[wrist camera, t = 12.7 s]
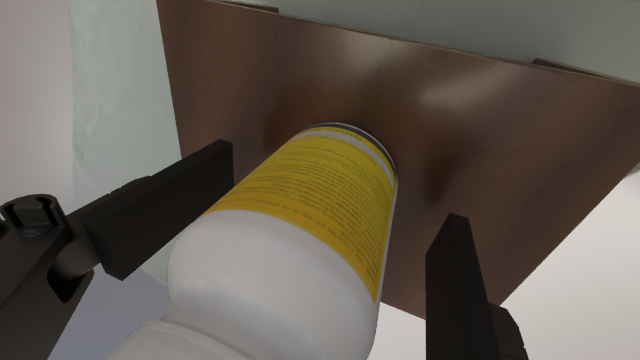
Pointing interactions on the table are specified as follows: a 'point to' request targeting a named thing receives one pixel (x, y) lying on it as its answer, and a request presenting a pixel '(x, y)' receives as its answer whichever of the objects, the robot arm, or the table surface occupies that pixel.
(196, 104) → the shelf
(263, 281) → the pill bottle
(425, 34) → the table surface
